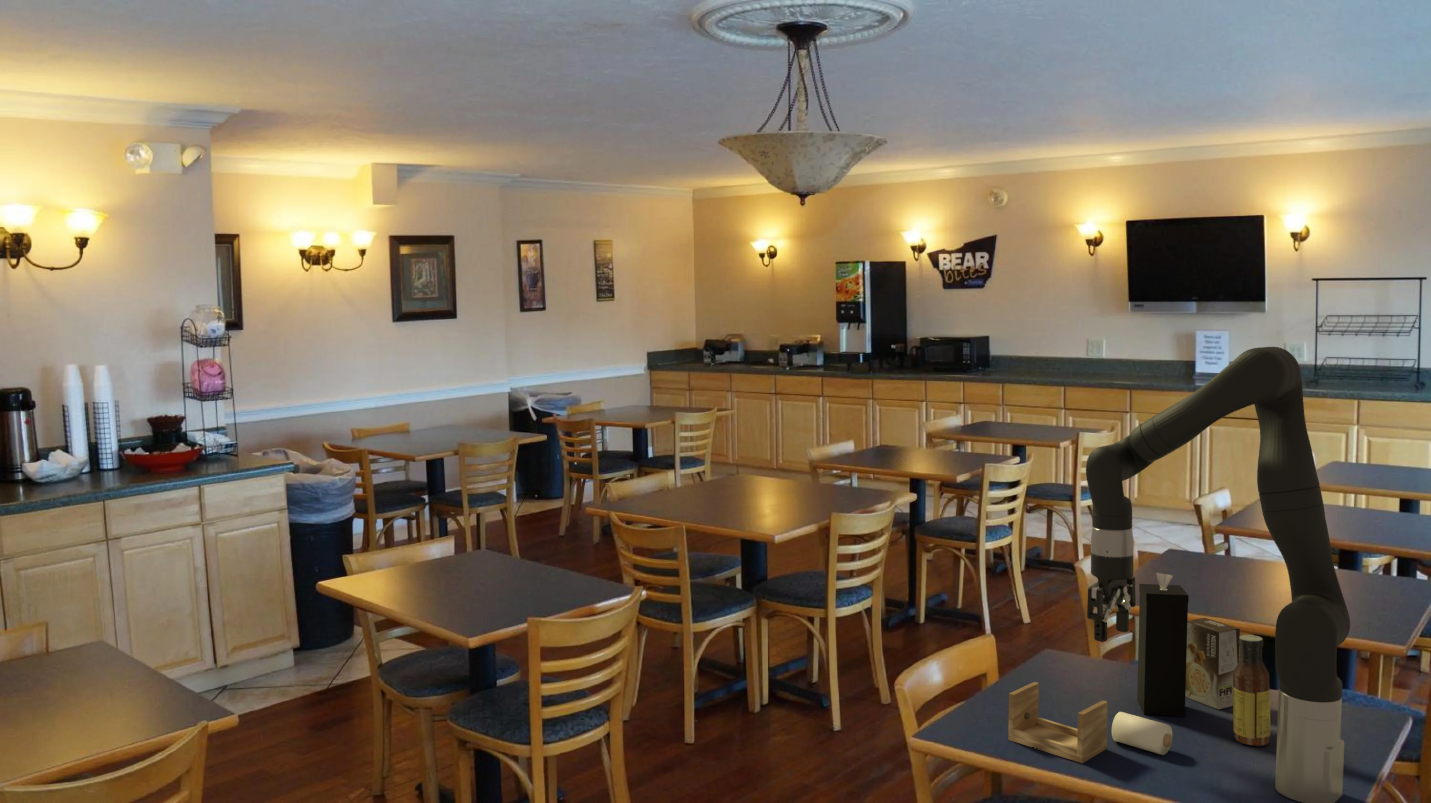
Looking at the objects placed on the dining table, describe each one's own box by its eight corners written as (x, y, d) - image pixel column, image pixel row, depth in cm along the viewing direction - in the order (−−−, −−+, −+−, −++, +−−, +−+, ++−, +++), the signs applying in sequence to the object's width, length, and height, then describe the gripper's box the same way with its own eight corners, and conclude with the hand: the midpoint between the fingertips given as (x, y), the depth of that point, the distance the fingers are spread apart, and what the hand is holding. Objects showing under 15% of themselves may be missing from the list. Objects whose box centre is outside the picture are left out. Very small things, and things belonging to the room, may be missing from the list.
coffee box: (1240, 705, 223) (1242, 628, 221) (1217, 710, 220) (1220, 632, 219) (1202, 690, 231) (1205, 616, 230) (1181, 695, 228) (1183, 620, 227)
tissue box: (1185, 717, 216) (1189, 578, 214) (1143, 714, 218) (1146, 577, 215) (1176, 703, 224) (1180, 569, 222) (1136, 700, 226) (1139, 567, 223)
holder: (1106, 748, 201) (1107, 701, 201) (1082, 763, 195) (1083, 714, 194) (1033, 726, 212) (1034, 681, 211) (1008, 739, 206) (1008, 693, 205)
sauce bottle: (1265, 736, 207) (1269, 633, 205) (1273, 749, 201) (1277, 643, 199) (1228, 733, 208) (1231, 631, 207) (1234, 745, 202) (1237, 641, 201)
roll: (1174, 751, 200) (1176, 722, 200) (1161, 759, 197) (1162, 729, 196) (1121, 735, 208) (1122, 707, 207) (1107, 743, 204) (1109, 714, 204)
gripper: (1112, 560, 197) (1112, 648, 198) (1149, 547, 206) (1148, 631, 208) (1074, 554, 202) (1074, 640, 203) (1111, 542, 212) (1111, 624, 213)
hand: (1111, 635), depth 205 cm, fingers open, 8 cm apart
